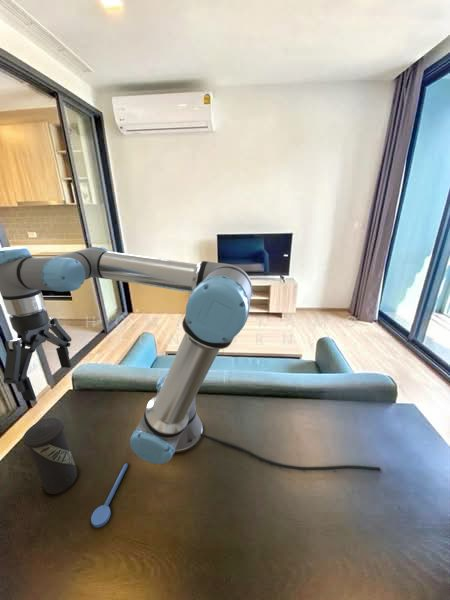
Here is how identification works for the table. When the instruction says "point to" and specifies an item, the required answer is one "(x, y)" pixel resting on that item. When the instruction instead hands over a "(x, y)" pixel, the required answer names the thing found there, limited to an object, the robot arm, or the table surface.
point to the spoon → (106, 504)
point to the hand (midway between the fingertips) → (50, 381)
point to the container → (51, 454)
